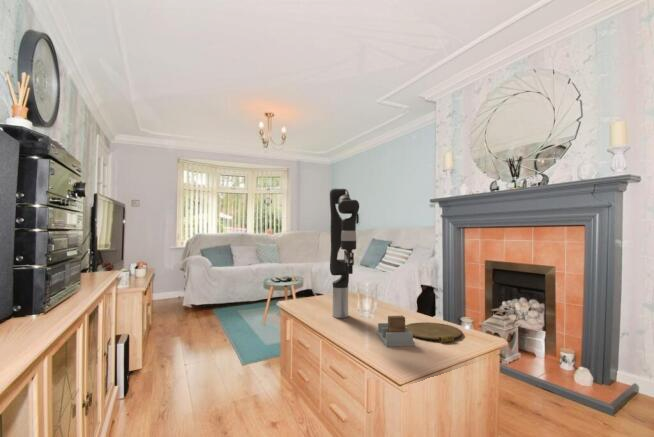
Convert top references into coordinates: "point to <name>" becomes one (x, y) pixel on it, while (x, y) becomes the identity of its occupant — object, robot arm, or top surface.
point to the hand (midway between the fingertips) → (348, 272)
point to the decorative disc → (434, 331)
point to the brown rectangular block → (396, 324)
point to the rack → (394, 336)
